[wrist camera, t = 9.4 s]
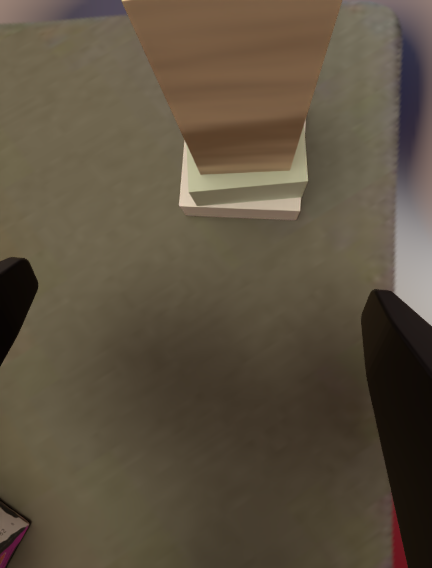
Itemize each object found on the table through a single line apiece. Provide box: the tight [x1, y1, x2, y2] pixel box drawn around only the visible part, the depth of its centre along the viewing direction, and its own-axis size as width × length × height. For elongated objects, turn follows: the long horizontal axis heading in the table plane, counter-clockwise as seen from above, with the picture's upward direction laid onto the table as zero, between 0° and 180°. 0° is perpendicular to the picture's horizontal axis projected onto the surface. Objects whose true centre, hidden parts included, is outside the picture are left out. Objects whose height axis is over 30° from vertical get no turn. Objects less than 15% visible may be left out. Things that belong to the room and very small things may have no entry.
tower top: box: [186, 126, 308, 206], centre depth 19 cm, size 6×6×2 cm
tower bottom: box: [179, 120, 306, 220], centre depth 21 cm, size 7×7×2 cm
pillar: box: [122, 0, 342, 175], centre depth 12 cm, size 4×4×10 cm
